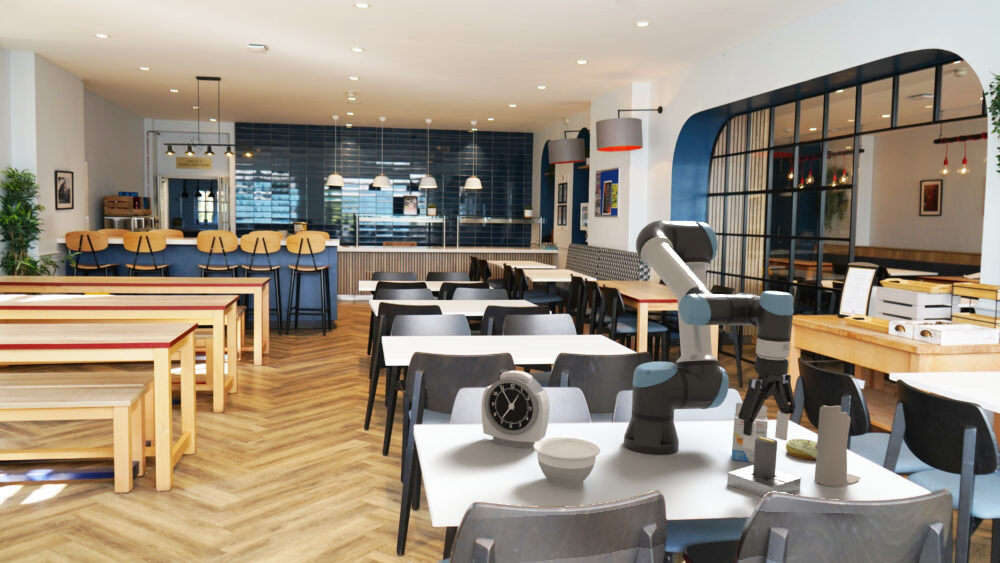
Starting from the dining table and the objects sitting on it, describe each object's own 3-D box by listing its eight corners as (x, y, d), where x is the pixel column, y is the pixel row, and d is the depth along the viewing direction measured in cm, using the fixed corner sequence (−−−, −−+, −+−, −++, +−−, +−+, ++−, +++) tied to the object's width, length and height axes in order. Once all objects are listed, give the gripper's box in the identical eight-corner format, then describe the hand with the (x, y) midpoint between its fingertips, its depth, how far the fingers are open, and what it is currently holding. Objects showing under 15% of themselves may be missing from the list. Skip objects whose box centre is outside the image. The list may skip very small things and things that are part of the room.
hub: (727, 484, 185) (727, 471, 185) (755, 475, 192) (756, 463, 192) (771, 500, 176) (772, 486, 175) (799, 490, 183) (800, 477, 183)
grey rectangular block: (748, 483, 184) (751, 437, 183) (760, 480, 188) (763, 434, 187) (766, 490, 181) (769, 443, 180) (778, 486, 184) (781, 440, 183)
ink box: (731, 460, 204) (735, 406, 203) (731, 454, 209) (735, 402, 208) (765, 464, 202) (768, 409, 200) (764, 458, 206) (768, 405, 205)
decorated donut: (822, 464, 204) (823, 451, 203) (781, 456, 210) (782, 442, 210) (831, 455, 212) (832, 442, 212) (791, 447, 218) (792, 434, 218)
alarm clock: (478, 442, 212) (480, 370, 210) (490, 434, 220) (492, 365, 218) (539, 452, 205) (542, 378, 203) (549, 443, 213) (552, 372, 211)
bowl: (550, 497, 172) (552, 460, 172) (521, 474, 187) (522, 440, 186) (611, 489, 179) (613, 454, 178) (577, 468, 193) (579, 435, 193)
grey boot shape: (867, 479, 192) (873, 401, 191) (834, 488, 185) (840, 407, 183) (841, 471, 198) (847, 395, 197) (808, 479, 191) (814, 401, 189)
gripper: (755, 365, 171) (747, 457, 173) (815, 354, 186) (807, 439, 188) (727, 358, 176) (720, 447, 179) (787, 349, 192) (780, 431, 194)
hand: (764, 443), depth 184 cm, fingers open, 13 cm apart
